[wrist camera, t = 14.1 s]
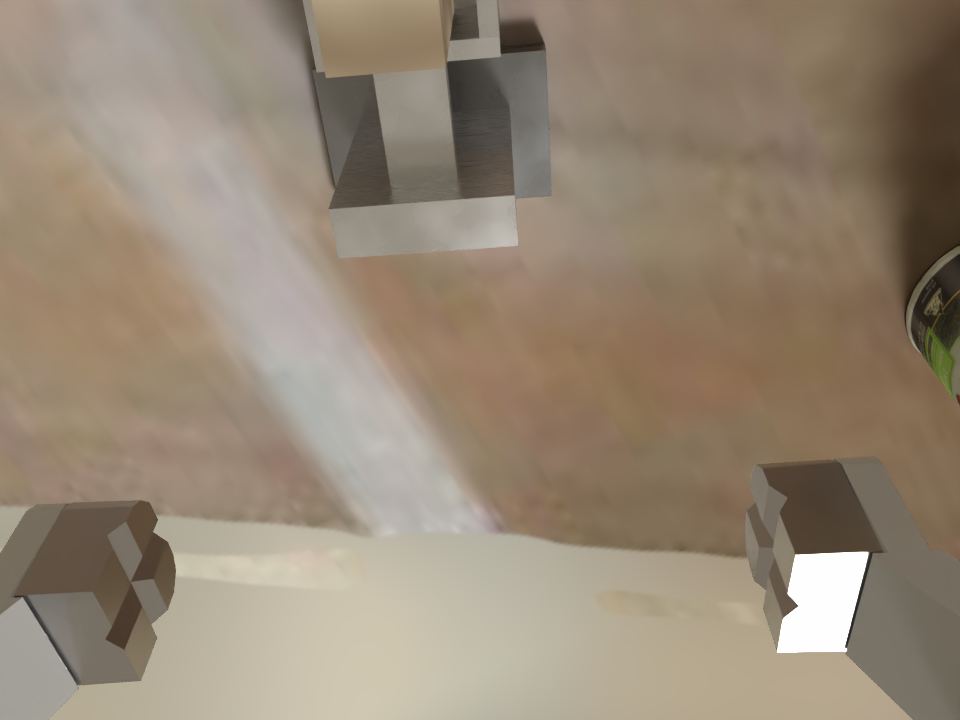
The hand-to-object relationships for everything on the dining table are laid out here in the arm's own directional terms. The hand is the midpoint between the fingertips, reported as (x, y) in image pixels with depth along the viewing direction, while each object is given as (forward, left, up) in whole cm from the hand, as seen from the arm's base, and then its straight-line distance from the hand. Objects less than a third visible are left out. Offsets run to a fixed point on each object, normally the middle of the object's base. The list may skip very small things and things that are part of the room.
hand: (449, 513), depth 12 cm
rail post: (-2, -3, -32) cm, 32 cm away
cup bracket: (+3, -3, -37) cm, 37 cm away
